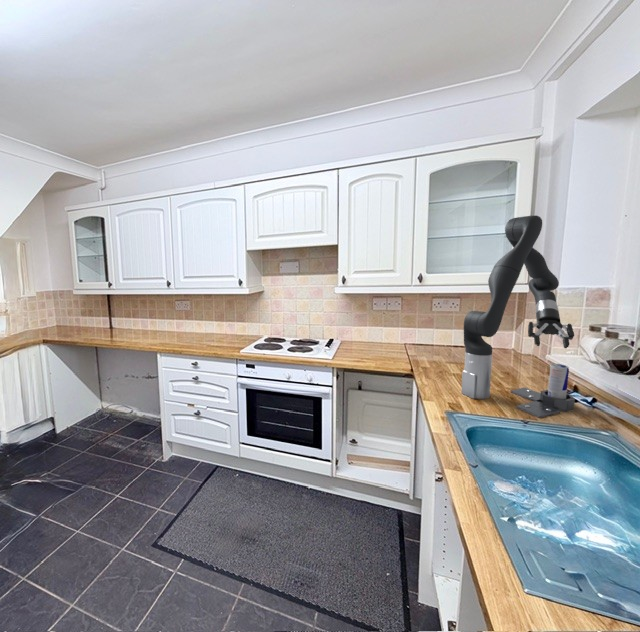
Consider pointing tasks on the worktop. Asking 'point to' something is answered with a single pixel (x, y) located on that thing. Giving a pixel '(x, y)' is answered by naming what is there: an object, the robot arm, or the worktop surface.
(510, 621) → the worktop surface
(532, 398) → the grey can holder
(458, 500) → the worktop surface
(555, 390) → the beverage can
